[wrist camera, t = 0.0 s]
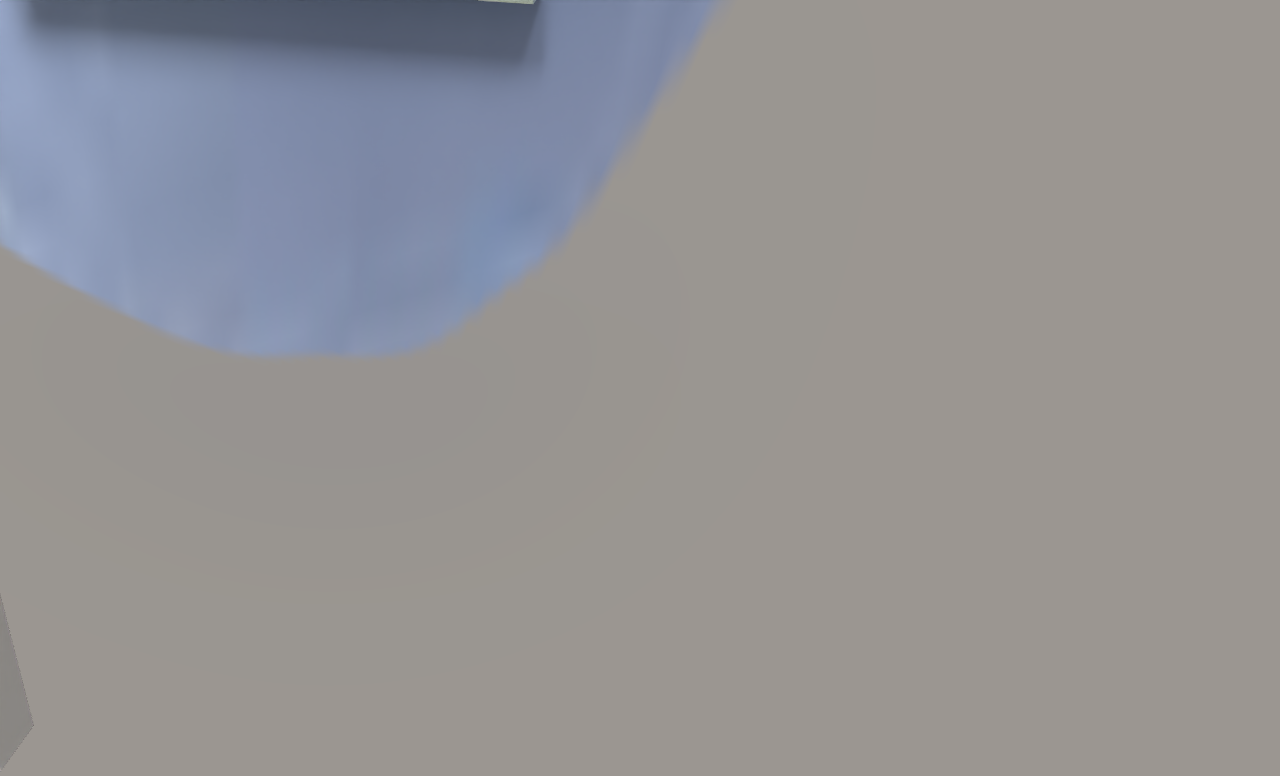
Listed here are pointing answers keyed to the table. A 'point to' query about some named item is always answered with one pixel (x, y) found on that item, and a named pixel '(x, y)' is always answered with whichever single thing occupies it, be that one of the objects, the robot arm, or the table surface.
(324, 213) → the table surface
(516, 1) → the tray
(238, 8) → the table surface
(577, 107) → the table surface
